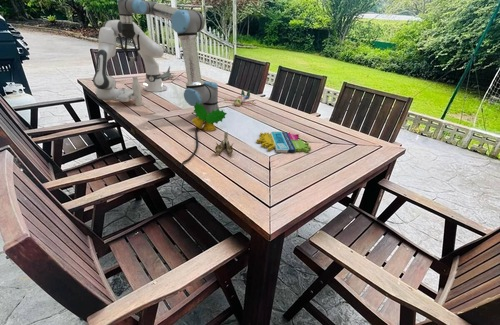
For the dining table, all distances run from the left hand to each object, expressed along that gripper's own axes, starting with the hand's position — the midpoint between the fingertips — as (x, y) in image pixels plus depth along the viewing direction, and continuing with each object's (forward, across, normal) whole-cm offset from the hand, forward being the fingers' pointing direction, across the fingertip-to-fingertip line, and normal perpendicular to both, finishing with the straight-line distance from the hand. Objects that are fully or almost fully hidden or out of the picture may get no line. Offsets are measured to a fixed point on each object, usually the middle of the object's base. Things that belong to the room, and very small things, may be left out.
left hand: (138, 96), depth 194 cm
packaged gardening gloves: (+99, -60, +7) cm, 116 cm away
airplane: (-3, +88, +6) cm, 89 cm away
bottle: (-1, 0, +6) cm, 7 cm away
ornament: (+56, -42, +6) cm, 70 cm away
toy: (+77, +20, +6) cm, 80 cm away
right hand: (-1, 0, -25) cm, 25 cm away
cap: (-1, 0, -26) cm, 27 cm away
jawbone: (+66, -73, +7) cm, 99 cm away
